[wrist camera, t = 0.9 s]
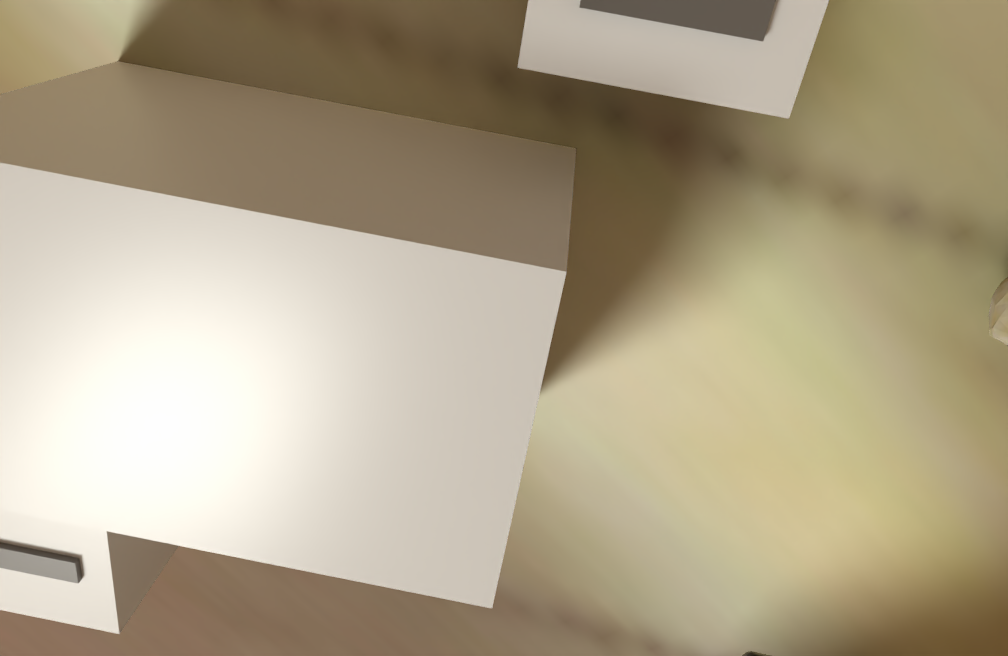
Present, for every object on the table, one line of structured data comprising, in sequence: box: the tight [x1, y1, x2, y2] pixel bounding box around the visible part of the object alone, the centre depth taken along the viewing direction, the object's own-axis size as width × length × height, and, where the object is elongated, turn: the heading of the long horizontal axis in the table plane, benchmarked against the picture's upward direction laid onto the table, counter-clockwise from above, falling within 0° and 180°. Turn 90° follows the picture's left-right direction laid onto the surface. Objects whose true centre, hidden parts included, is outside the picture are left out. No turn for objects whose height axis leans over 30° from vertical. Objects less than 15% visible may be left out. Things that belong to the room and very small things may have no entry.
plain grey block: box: [0, 61, 576, 608], centre depth 18 cm, size 8×12×8 cm, turn 81°
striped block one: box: [0, 510, 178, 634], centre depth 23 cm, size 5×5×5 cm
